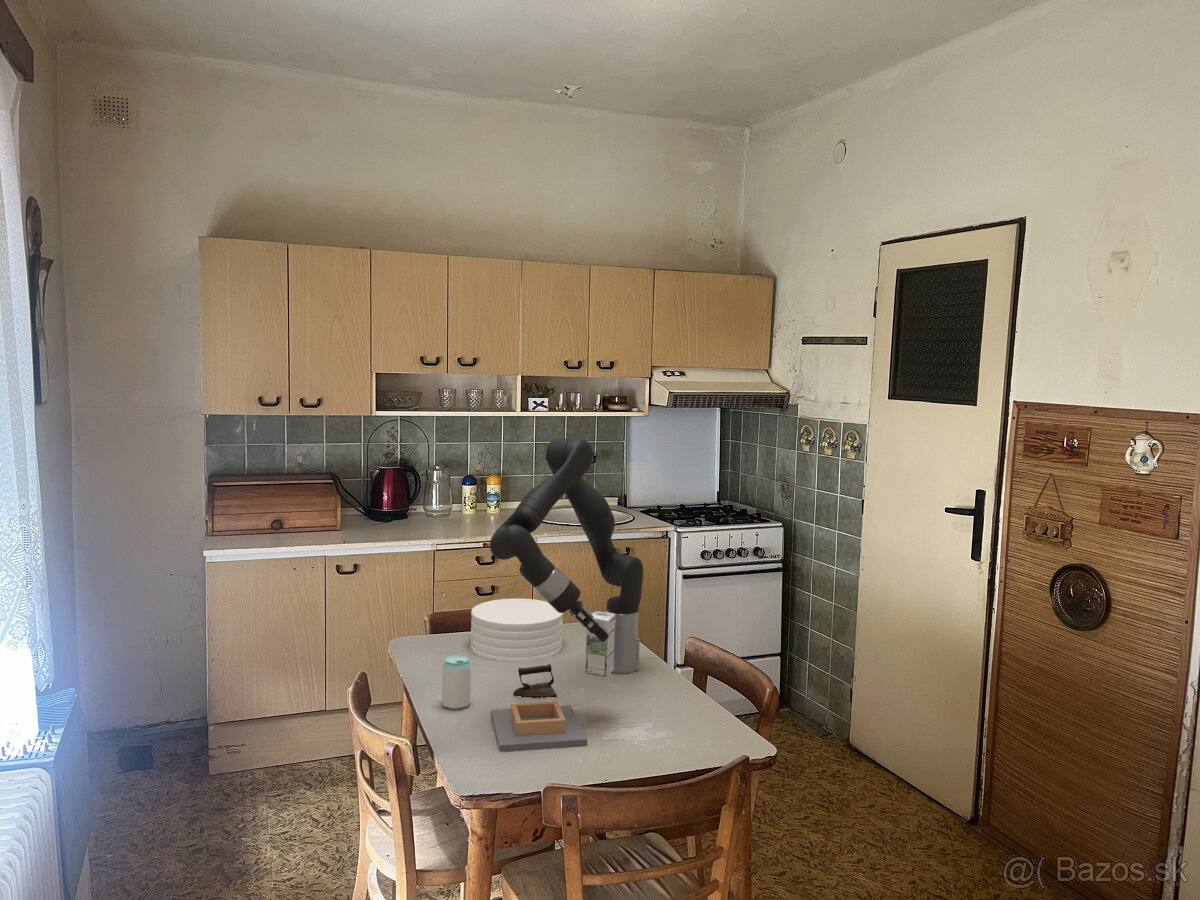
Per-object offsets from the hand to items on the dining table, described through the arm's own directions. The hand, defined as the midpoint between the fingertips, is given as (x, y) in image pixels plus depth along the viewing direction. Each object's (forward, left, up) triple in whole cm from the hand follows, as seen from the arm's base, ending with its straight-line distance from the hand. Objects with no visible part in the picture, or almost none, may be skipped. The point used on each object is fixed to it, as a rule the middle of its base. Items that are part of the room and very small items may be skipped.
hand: (602, 633), depth 206 cm
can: (+34, -13, -21) cm, 42 cm away
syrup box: (0, 0, -10) cm, 10 cm away
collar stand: (+16, +5, -21) cm, 27 cm away
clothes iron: (+14, -18, -21) cm, 31 cm away
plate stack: (+13, -57, -22) cm, 62 cm away
